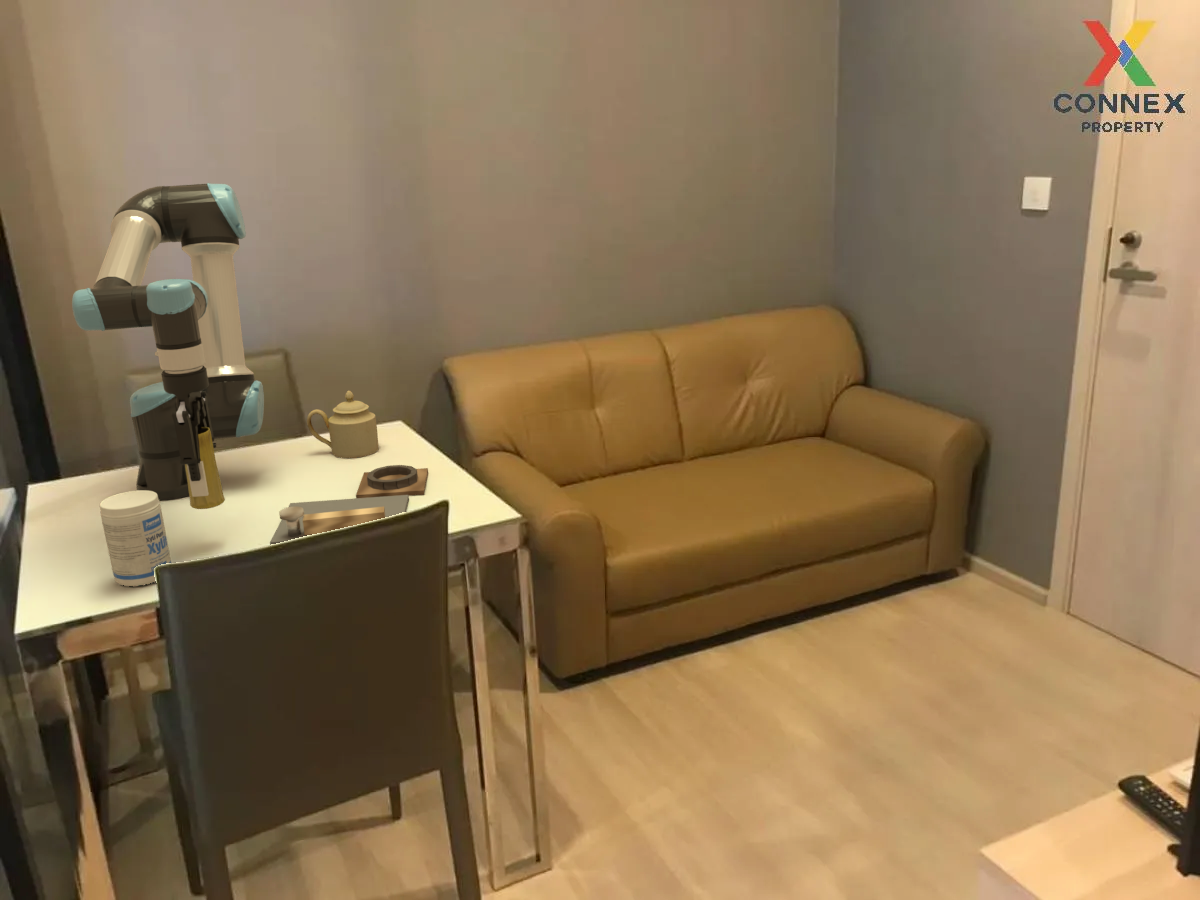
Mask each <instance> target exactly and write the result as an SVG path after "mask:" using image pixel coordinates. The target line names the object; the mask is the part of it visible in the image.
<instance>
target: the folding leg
mask: <svg viewBox="0 0 1200 900" xmlns="http://www.w3.org/2000/svg"><path fill="white" fill-rule="evenodd" d="M278 514H279V515H278V516H279V519H281V520H295V519H298V518H301V517H302V516H303V515H304V510H303V508H302V507H297V506H294V507H289V506H288V507H284V508H282V509H280V510H279V511H278ZM381 518H385V509H384V507H375V508H365V509H355V510H345V511H335V512H325V513H315V514H306V515H304V517H303V527H304V534H305V535H312V534H317V533H322V532H327V531H331V530H335V529H340V528H344V527H348V526H353V525H357V524H361V523H365V522H369V521H373V520H377V519H381Z"/></svg>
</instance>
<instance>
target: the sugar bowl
mask: <svg viewBox="0 0 1200 900" xmlns="http://www.w3.org/2000/svg"><path fill="white" fill-rule="evenodd" d="M354 397H355V395H354V394H353V392H352V391H351V390H347V391H346V392H345V394H344V398H345V400H346V401H342V402H340V403H339V404H337V405H336V406H335V407H333V408H332V412H334V414H333V415H332V416H330V417H328V415H327V413H325V412H324V411H323V410H321V409H313V410H312V411H310V412H309V413H308V415H307V418H306V424H307V425H306V426H307V427H308V430H309V432H310V433H311V435H313V437H314V438H315V439H317V440H318V441H319V442H321V443H323V444H324V445H326V446H329V448H330V449H331V454H332V456H334V457H337V458H339V457H340V458H341V457H342V458H341V459H357V457H359V458H363V457H368V456H371V455H373V454H375V453H377V452H378V450H379V448H380V447H379V436H378V433H379V432H378V427H377V426H378V425H377V417H376V414H375V413H374V412H371V411H370V410H369V407H370V406H369V405H368V404H366V403H364V402H363V401H360V400H353V399H354ZM315 415H319V416H321V418H322V419H323V422H324V424H325V426H326V428H327V430H328V433H329V434H328V435H329V440H328V439H327V438H325V437H324V436H321V435H320V434H319V433H318V432H317V431H316V430H315V428H314V427H313V425H312V418H313V416H315ZM340 458H339V459H340Z"/></svg>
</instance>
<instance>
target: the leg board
mask: <svg viewBox="0 0 1200 900" xmlns="http://www.w3.org/2000/svg"><path fill="white" fill-rule="evenodd" d="M409 497H410V496H408V495H397V496H383V497H369V498H356V497H355V498H345V499H344V498H342V499H331V500H330V499H329V500H328V499H327V500H316V501H315V500H314V501H303V502H302V501H301V502H299V501H298V502H290V503H289V505H288V507H294V506H297V507H302V508H303V510H304V515H306V514H315V513H325V512H335V511H345V510H355V509H365V508H375V507H384V509H385V517H389V516H392V515H396V514H399V513H402V512H406V513H407V509H408V505H409V501H410V498H409ZM304 515H303V516H302V517H301V518H299V521H300V528H301V535H299V536H296V537H290V536H288V531H287V524H286V520H282V519H281V521H280V522H279V523H278V526H277V527H276V530H275V532H274V533H273V535H272V538H271V539H270V541H269V545H271V544H276V543H280V542H284V541H288V540H291V539H295V538H299V537H303V536H307V535H305V534H304V527H303V517H304Z"/></svg>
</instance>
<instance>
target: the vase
mask: <svg viewBox="0 0 1200 900" xmlns="http://www.w3.org/2000/svg"><path fill="white" fill-rule="evenodd" d="M201 428H203V429H201V430H198V438H199V449H200V459H201V461H203V465H204V471H205V476H206V482H207V487H208V493H209V495H208V496H197V497H192V492H191V486H190V481H189V476H188V470H187V465H186V464H185V468H186V475H187V481H188V490H189V505H190V507H191V508H192V509H196V510H207V509H213V508H215V507H218V506H220V505H222V504H223V503H224V502H225V501H226V498H225V495H224V492H223V487H222V481H221V477H220V473H219V469H218V465H217V460H216V456H215V448H213V443H214V442H212V436H211V431H210V428H208V427H201Z"/></svg>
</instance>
